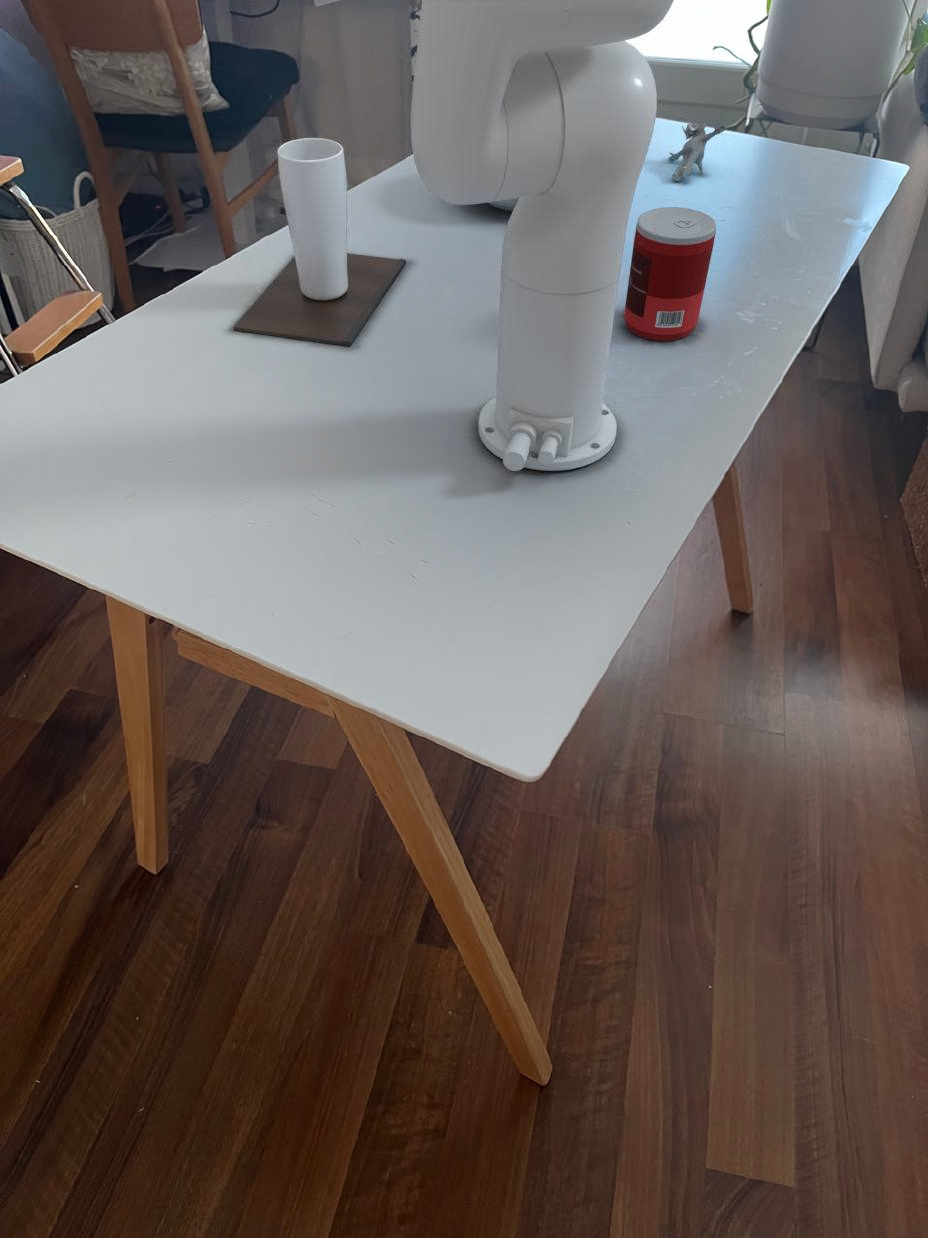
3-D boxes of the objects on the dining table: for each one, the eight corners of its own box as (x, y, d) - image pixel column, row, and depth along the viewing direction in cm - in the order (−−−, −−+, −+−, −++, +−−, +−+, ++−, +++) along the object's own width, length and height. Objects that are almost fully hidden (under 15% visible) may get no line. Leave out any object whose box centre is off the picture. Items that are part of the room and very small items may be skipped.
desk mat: (350, 346, 96) (350, 342, 96) (233, 330, 99) (232, 325, 98) (406, 263, 110) (406, 259, 110) (302, 250, 112) (302, 246, 112)
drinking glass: (345, 308, 101) (332, 163, 90) (285, 302, 102) (266, 157, 91) (362, 280, 106) (352, 139, 95) (305, 274, 107) (289, 134, 96)
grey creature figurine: (640, 176, 130) (662, 132, 133) (667, 207, 133) (687, 164, 136) (696, 141, 122) (718, 96, 125) (723, 176, 125) (743, 131, 128)
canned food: (710, 324, 100) (732, 221, 92) (665, 350, 96) (684, 245, 88) (653, 300, 104) (670, 199, 96) (608, 324, 100) (621, 221, 92)
